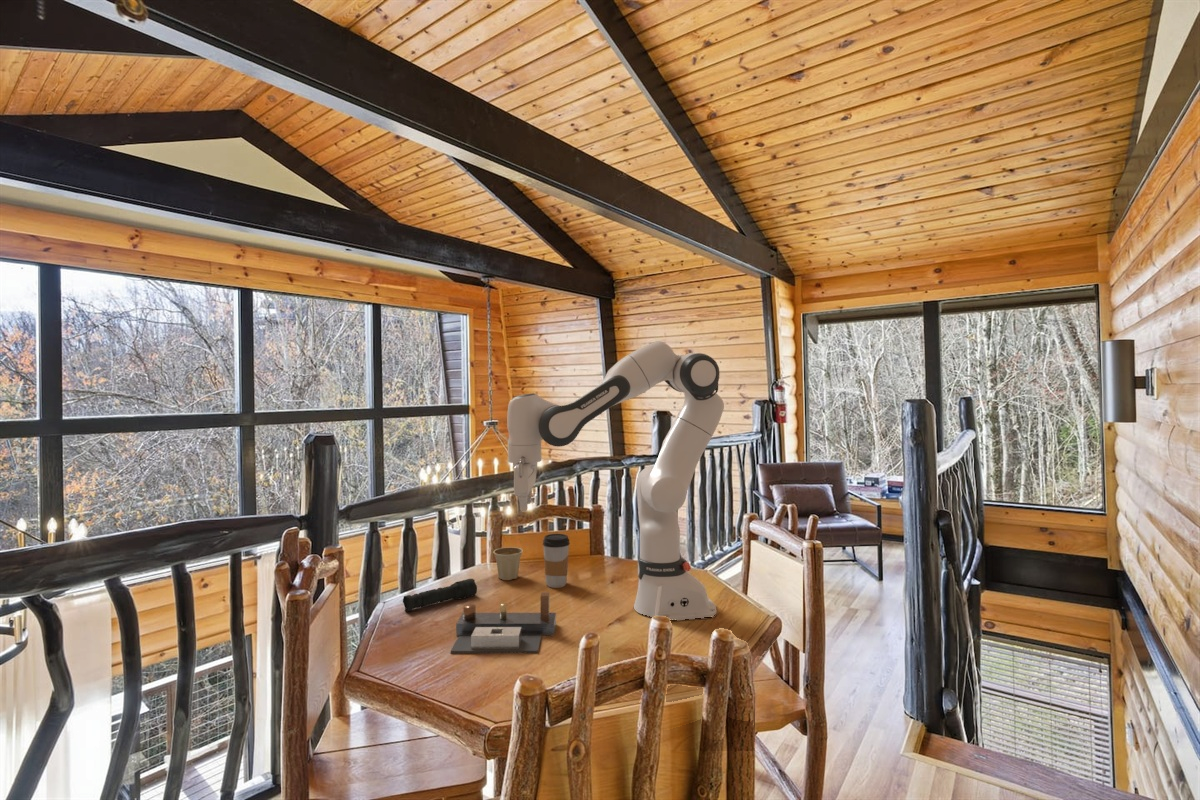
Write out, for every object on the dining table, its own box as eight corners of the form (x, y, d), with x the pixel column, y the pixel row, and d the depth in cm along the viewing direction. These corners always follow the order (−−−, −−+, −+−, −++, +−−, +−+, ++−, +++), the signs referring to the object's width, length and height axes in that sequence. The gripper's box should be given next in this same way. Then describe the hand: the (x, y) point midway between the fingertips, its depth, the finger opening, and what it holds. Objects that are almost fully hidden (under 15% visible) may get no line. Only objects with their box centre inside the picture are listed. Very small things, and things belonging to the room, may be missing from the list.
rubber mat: (541, 638, 140) (541, 635, 140) (537, 653, 132) (537, 650, 132) (458, 638, 140) (458, 636, 140) (450, 653, 132) (450, 650, 132)
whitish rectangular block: (521, 639, 138) (521, 626, 138) (518, 648, 133) (518, 635, 133) (475, 639, 138) (475, 627, 138) (471, 648, 133) (471, 635, 133)
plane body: (555, 624, 149) (555, 589, 149) (553, 635, 142) (553, 599, 142) (462, 624, 149) (462, 589, 149) (456, 635, 142) (456, 599, 142)
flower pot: (491, 574, 189) (491, 548, 189) (520, 571, 192) (520, 546, 192) (495, 583, 180) (495, 556, 180) (525, 580, 183) (525, 553, 183)
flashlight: (477, 597, 169) (477, 580, 169) (409, 615, 155) (409, 597, 155) (469, 592, 173) (469, 576, 173) (401, 610, 159) (401, 592, 159)
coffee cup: (565, 590, 174) (565, 540, 174) (539, 588, 176) (539, 539, 176) (572, 581, 183) (572, 534, 182) (547, 579, 184) (547, 532, 184)
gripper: (532, 459, 142) (533, 515, 143) (539, 450, 163) (540, 499, 163) (507, 459, 142) (508, 515, 143) (517, 451, 163) (518, 499, 163)
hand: (525, 506), depth 153 cm, fingers open, 8 cm apart
